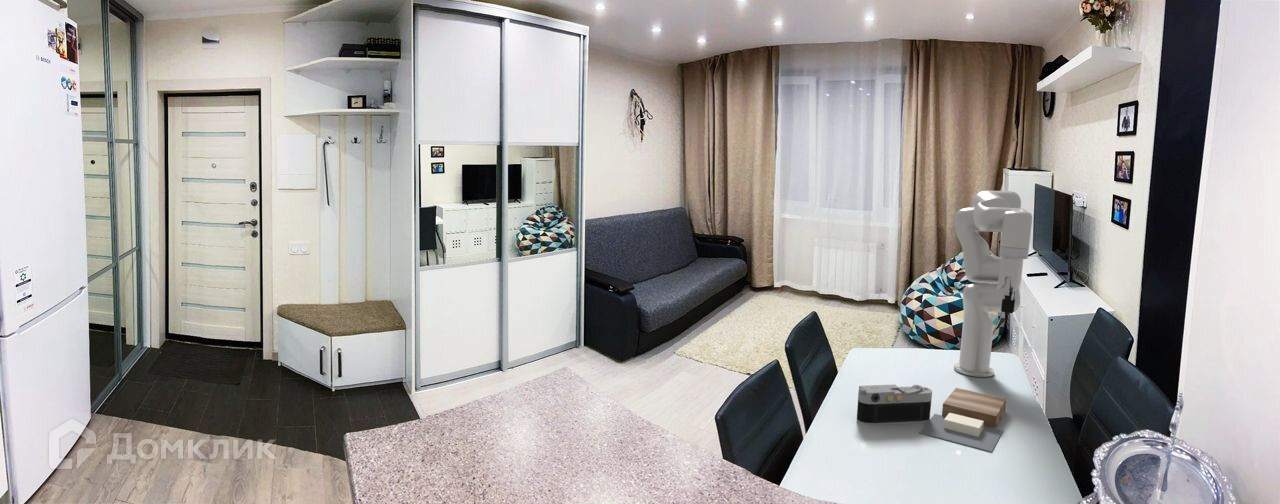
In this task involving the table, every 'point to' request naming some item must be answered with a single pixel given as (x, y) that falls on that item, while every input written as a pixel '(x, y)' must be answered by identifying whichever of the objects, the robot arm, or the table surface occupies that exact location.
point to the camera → (893, 404)
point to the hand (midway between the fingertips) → (1007, 311)
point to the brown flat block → (975, 406)
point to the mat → (962, 434)
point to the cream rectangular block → (963, 424)
